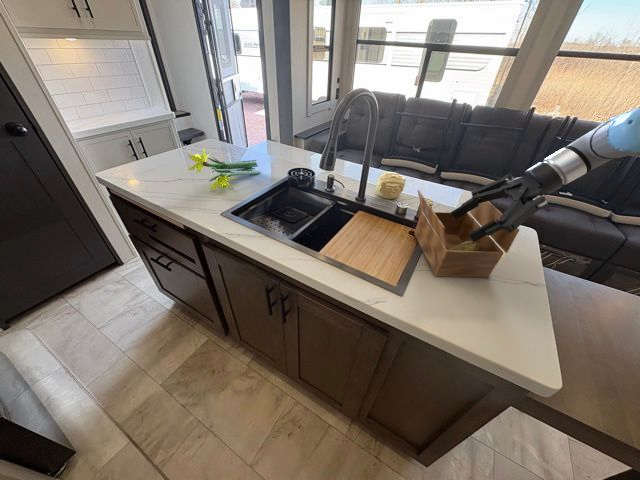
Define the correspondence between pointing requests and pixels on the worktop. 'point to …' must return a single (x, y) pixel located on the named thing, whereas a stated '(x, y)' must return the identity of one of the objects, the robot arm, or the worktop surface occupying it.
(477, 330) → the worktop surface
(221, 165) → the daffodil flowers
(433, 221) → the flap
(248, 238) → the worktop surface
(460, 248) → the potato
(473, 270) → the wooden box
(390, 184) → the sculpture
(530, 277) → the worktop surface
